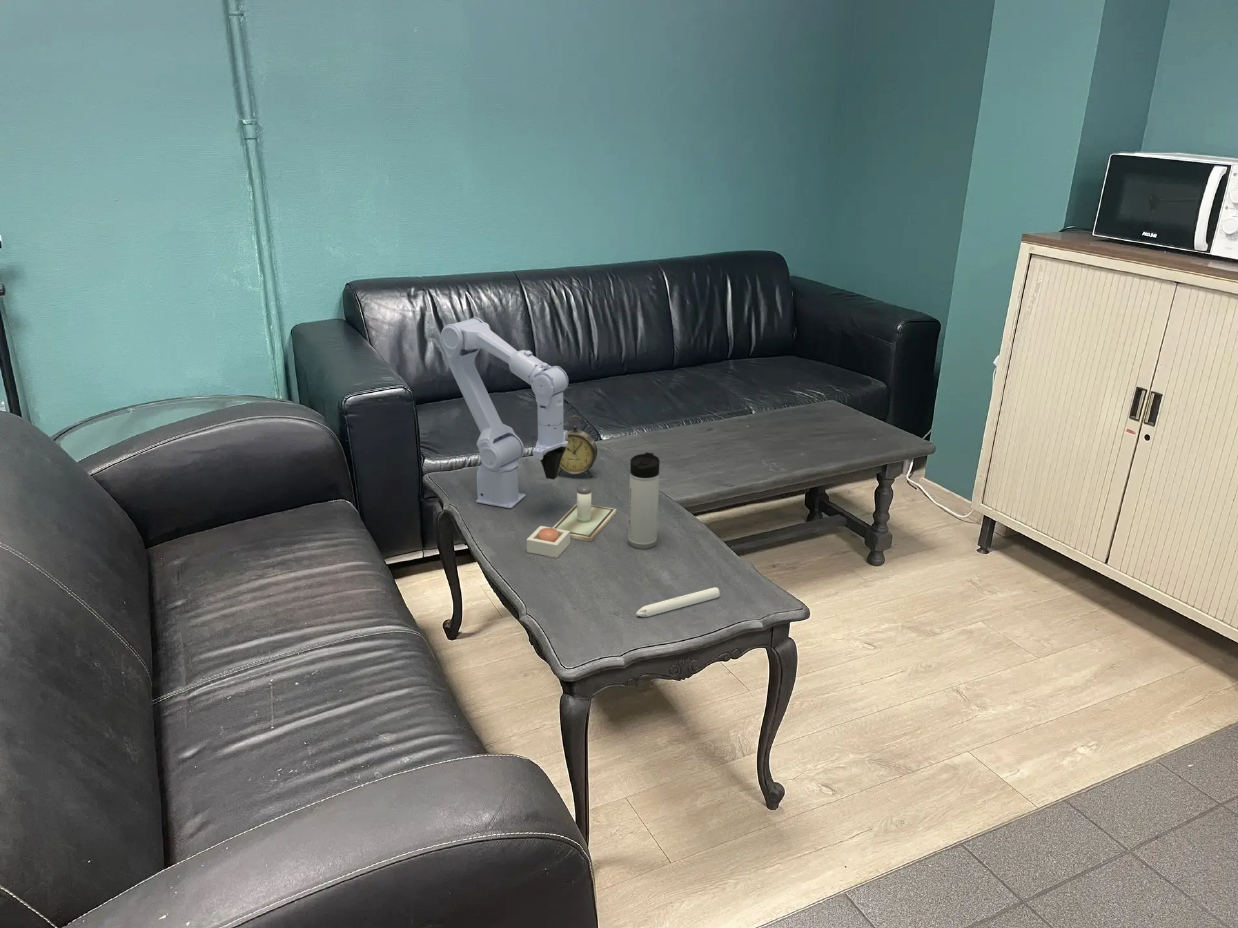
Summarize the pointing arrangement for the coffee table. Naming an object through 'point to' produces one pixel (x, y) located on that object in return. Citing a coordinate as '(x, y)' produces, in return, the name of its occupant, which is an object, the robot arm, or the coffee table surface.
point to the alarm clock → (578, 452)
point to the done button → (548, 534)
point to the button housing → (548, 543)
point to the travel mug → (643, 500)
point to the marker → (678, 602)
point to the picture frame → (588, 529)
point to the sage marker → (584, 503)
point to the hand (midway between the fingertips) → (551, 477)
